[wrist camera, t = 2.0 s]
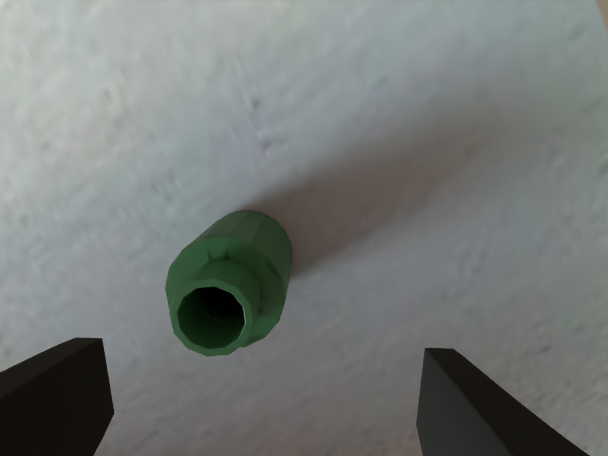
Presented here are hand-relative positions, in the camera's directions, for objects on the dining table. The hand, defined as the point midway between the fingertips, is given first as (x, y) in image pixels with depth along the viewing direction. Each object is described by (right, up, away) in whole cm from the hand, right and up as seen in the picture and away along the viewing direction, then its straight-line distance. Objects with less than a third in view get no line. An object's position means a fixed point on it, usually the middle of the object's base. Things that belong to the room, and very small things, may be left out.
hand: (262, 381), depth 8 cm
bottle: (-2, +2, +11) cm, 12 cm away
